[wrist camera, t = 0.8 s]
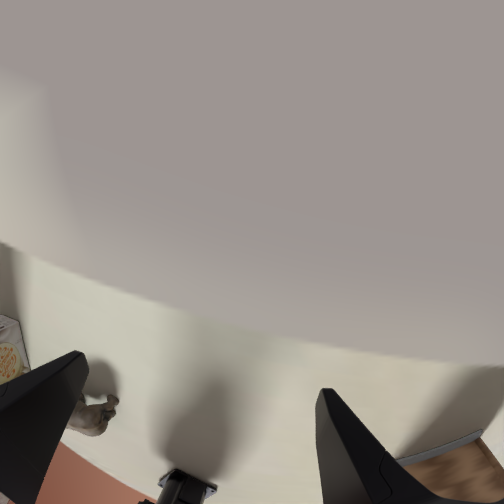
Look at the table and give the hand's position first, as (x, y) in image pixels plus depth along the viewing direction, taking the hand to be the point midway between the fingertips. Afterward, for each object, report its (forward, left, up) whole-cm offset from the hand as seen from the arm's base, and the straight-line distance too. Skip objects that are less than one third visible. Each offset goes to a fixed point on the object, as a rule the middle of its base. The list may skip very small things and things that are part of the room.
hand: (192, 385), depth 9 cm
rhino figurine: (-26, +8, -15) cm, 31 cm away
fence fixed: (-5, -35, -15) cm, 39 cm away
